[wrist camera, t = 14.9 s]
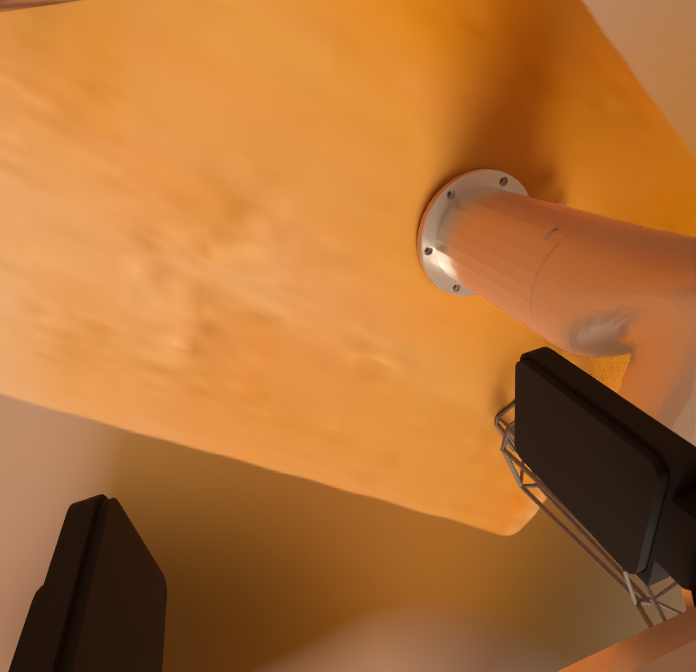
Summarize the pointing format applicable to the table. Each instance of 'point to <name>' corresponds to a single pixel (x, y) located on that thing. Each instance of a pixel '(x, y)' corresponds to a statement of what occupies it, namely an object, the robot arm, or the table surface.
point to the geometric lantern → (578, 527)
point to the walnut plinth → (27, 4)
